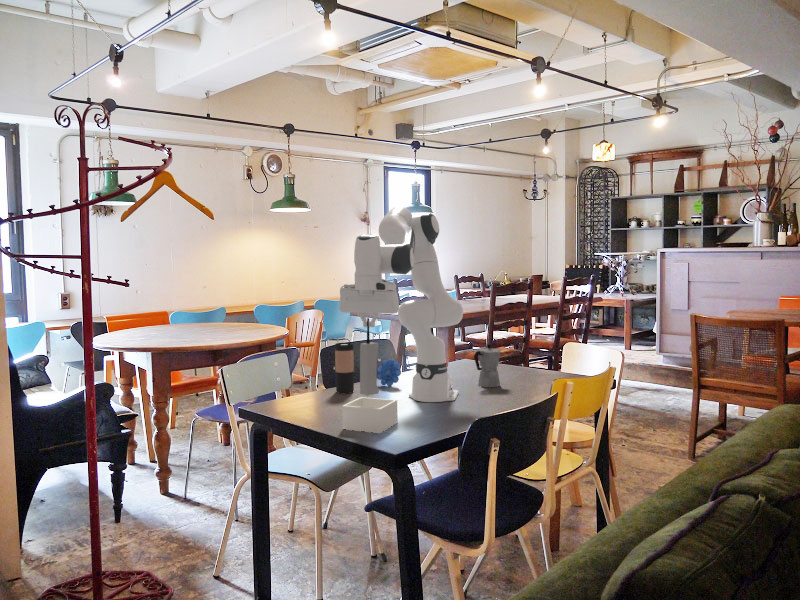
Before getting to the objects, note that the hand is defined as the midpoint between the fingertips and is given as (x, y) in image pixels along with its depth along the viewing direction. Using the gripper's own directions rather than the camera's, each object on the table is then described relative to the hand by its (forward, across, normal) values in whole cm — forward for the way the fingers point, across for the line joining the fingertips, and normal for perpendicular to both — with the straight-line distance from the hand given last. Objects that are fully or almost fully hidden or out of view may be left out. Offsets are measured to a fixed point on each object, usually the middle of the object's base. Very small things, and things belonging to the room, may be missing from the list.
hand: (369, 326), depth 212 cm
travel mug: (+33, -33, +45) cm, 65 cm away
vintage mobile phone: (+22, 0, -1) cm, 22 cm away
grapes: (+33, -20, +62) cm, 73 cm away
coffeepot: (+33, +19, +76) cm, 85 cm away
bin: (+33, 0, 0) cm, 33 cm away
